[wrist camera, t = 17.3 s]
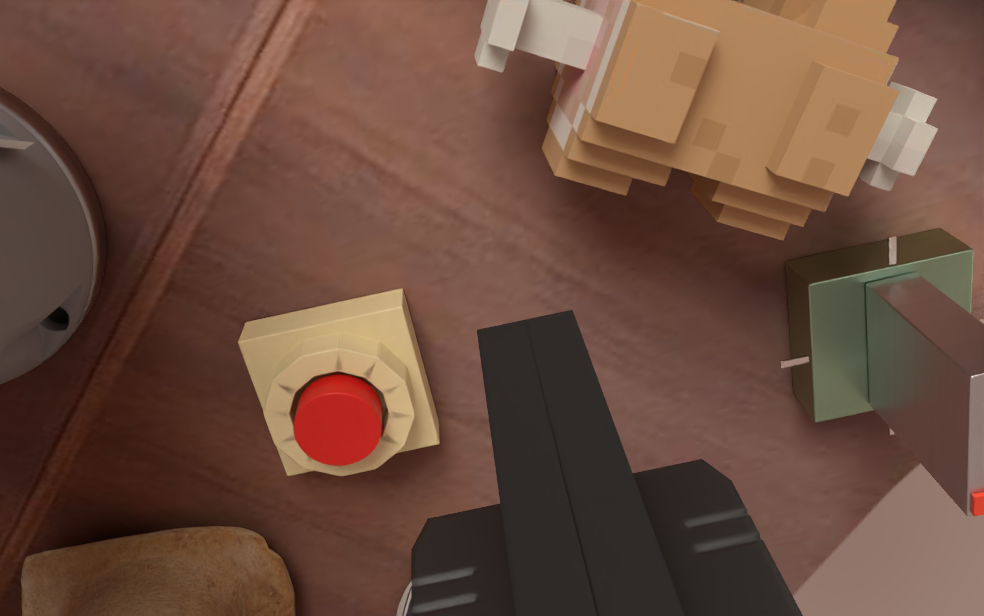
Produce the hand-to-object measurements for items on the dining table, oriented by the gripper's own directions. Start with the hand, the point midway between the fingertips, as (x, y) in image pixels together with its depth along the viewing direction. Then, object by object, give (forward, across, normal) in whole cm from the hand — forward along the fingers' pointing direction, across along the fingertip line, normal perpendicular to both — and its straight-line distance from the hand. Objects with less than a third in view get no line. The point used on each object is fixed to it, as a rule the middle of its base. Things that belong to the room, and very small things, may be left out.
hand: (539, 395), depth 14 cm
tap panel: (+29, +18, -17) cm, 38 cm away
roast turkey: (+28, +10, -2) cm, 30 cm away
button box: (+28, -9, -14) cm, 33 cm away
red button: (+25, -9, -14) cm, 30 cm away
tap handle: (+25, +18, -17) cm, 35 cm away
